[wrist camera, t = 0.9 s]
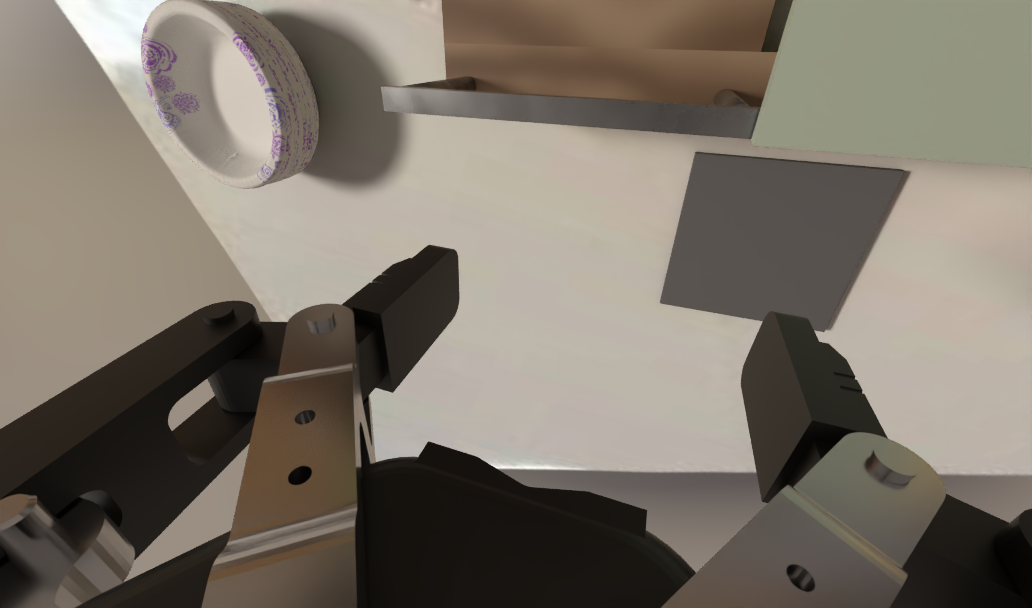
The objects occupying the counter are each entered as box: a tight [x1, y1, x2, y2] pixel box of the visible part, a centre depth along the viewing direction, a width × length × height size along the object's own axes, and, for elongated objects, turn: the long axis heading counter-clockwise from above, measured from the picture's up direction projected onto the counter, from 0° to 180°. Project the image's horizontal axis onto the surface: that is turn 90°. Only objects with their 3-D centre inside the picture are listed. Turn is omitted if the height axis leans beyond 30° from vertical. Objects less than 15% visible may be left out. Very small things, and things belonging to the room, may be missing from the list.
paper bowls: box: [141, 0, 319, 189], centre depth 40 cm, size 15×15×8 cm
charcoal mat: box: [660, 152, 905, 332], centre depth 36 cm, size 14×14×1 cm
